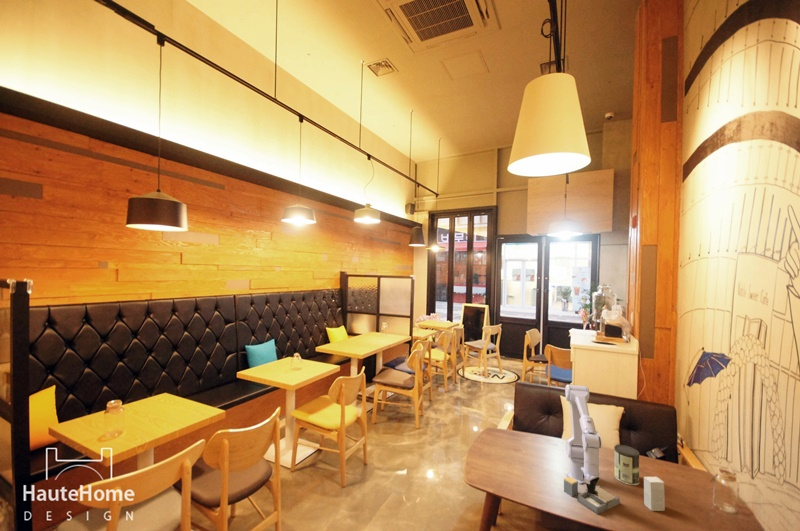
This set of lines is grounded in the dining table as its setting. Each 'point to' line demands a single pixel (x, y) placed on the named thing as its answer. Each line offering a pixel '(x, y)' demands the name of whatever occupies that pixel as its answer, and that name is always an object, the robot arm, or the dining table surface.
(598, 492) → the lid
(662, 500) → the skincare box
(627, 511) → the dining table surface
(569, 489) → the block
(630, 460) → the coffee can
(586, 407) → the robot arm
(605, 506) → the case
